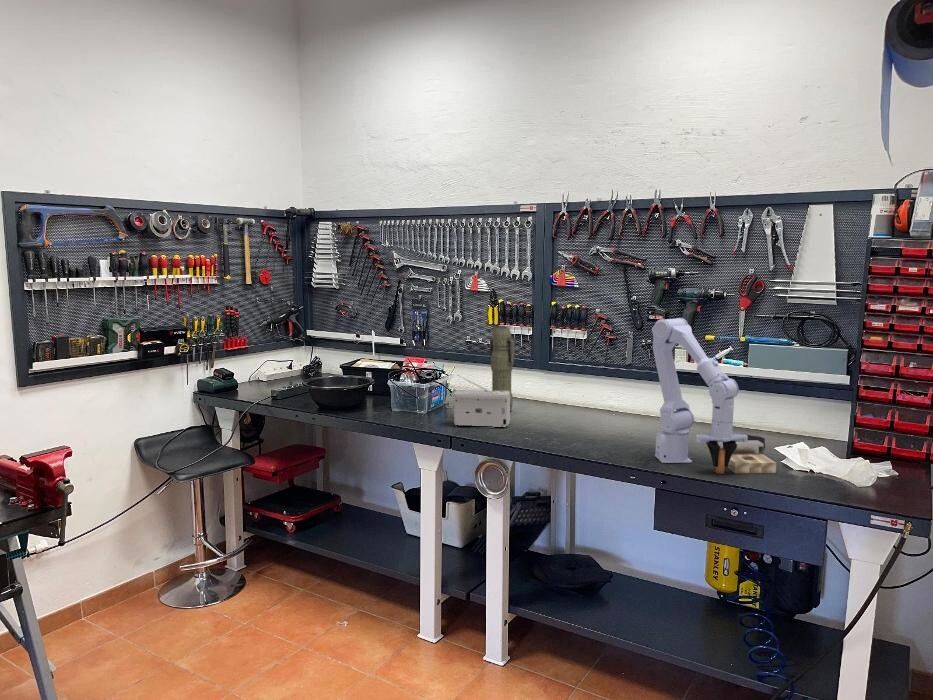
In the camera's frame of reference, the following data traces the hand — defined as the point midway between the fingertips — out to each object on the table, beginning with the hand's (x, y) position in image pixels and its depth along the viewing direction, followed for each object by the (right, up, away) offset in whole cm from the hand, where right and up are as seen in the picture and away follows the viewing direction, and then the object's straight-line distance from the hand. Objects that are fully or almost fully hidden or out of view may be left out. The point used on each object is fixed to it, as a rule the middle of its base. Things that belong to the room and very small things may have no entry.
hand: (720, 466), depth 202 cm
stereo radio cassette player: (-69, +5, +57) cm, 89 cm away
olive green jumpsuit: (-60, +9, +82) cm, 102 cm away
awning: (+10, -1, +10) cm, 14 cm away
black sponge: (+18, +1, +23) cm, 29 cm away
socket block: (+10, -1, +4) cm, 11 cm away
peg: (0, -2, 0) cm, 2 cm away
